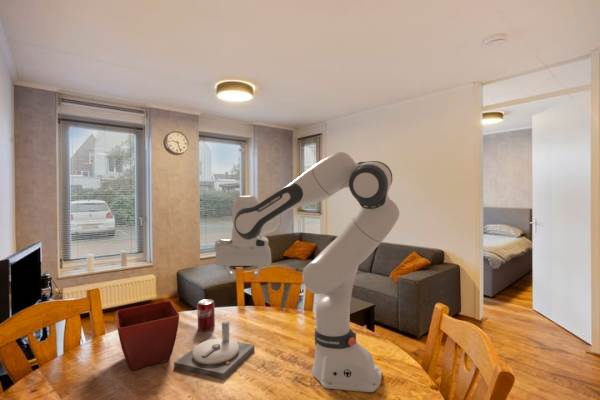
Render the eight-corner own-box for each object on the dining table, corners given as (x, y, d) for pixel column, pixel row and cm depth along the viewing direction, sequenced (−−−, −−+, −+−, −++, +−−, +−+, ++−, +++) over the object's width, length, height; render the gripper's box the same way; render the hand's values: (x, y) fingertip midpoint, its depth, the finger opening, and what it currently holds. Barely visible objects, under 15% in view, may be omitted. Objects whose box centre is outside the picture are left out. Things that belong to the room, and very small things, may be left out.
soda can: (209, 332, 133) (209, 305, 133) (194, 331, 135) (194, 304, 135) (217, 325, 141) (217, 299, 140) (203, 324, 142) (202, 298, 142)
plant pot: (118, 379, 100) (117, 328, 100) (117, 354, 116) (115, 309, 116) (181, 362, 110) (180, 315, 110) (171, 341, 126) (170, 300, 126)
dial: (247, 345, 116) (246, 323, 116) (221, 368, 101) (221, 342, 101) (211, 339, 122) (211, 317, 122) (182, 359, 107) (182, 335, 107)
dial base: (254, 350, 118) (254, 343, 118) (223, 379, 99) (223, 372, 99) (210, 342, 125) (210, 335, 125) (174, 368, 106) (174, 360, 106)
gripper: (213, 241, 108) (212, 280, 109) (272, 242, 110) (271, 279, 111) (216, 237, 114) (215, 274, 115) (271, 238, 117) (270, 274, 118)
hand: (243, 277), depth 113 cm, fingers open, 8 cm apart
